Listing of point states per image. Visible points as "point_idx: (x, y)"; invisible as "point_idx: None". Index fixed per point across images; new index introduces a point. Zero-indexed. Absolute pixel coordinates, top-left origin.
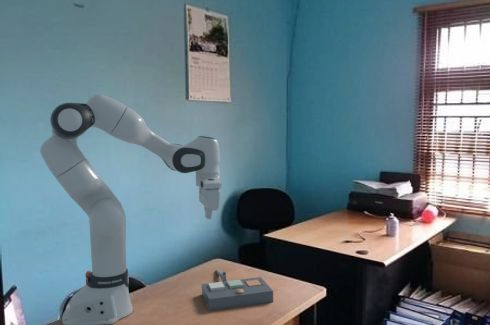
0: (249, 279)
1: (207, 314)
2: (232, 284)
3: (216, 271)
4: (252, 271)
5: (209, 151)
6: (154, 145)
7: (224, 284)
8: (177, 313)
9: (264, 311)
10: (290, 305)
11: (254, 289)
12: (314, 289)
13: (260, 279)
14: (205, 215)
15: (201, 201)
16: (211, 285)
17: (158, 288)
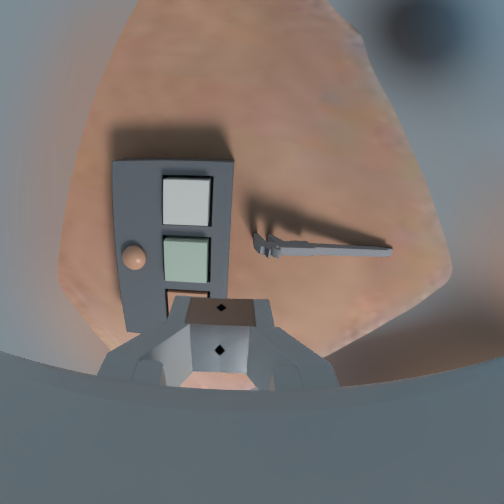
0: None
1: (106, 150)
2: (174, 251)
3: (380, 248)
4: (337, 334)
5: None
6: None
7: (204, 231)
8: (137, 77)
9: (92, 281)
10: (112, 337)
11: (143, 297)
12: None
13: None
14: (259, 307)
15: (435, 399)
16: (186, 186)
17: (331, 55)
